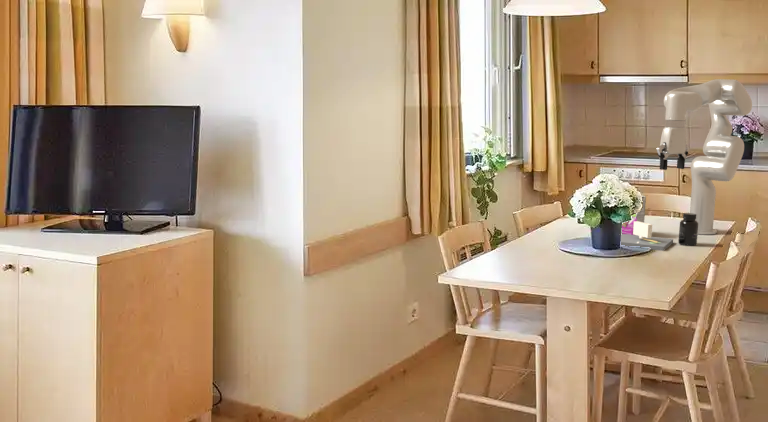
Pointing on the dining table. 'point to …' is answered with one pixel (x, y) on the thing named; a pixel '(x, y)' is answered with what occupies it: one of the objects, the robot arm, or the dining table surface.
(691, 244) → the supplement bottle
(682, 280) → the dining table surface
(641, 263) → the dining table surface
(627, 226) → the candy bar box
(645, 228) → the white ice pop
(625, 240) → the slate dial board
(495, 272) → the dining table surface
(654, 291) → the dining table surface
